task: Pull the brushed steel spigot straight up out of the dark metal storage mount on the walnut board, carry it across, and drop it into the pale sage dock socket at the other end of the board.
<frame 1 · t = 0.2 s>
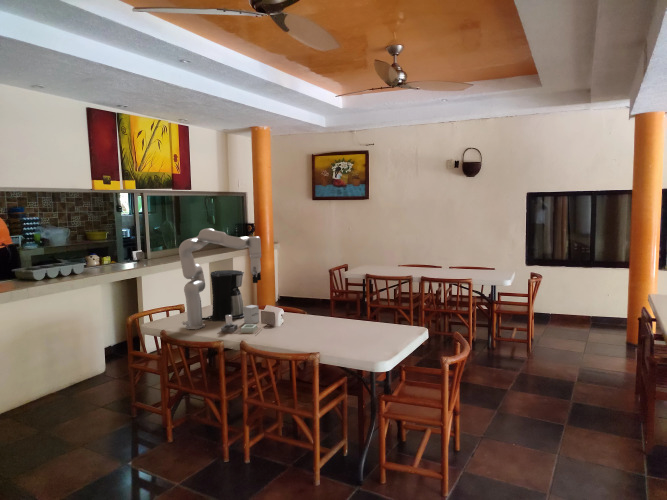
hand: (256, 281, 306), 31 cm above the table, tool pointing down, fingers open, 9 cm apart
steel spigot: (229, 330, 299), point 1 cm above the table, touching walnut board
coffee maker: (223, 317, 342), on the table
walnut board: (239, 333, 298), on the table
supplement box: (252, 324, 317), on the table
dock socket: (249, 330, 297), resting on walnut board
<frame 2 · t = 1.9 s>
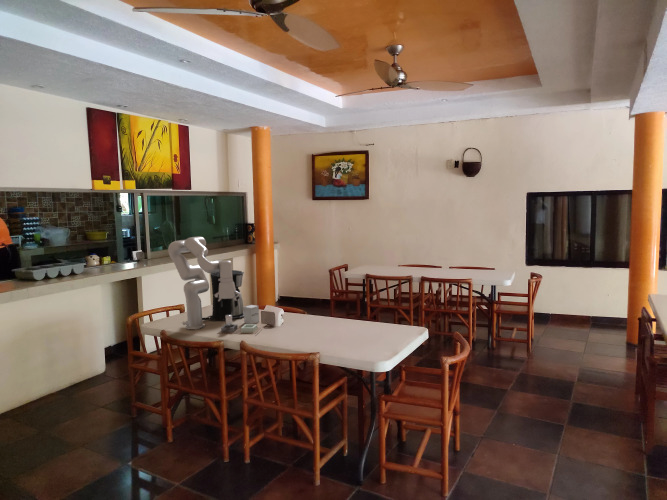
hand: (228, 306, 297), 17 cm above the table, tool pointing down, fingers open, 9 cm apart
nothing on the table moved.
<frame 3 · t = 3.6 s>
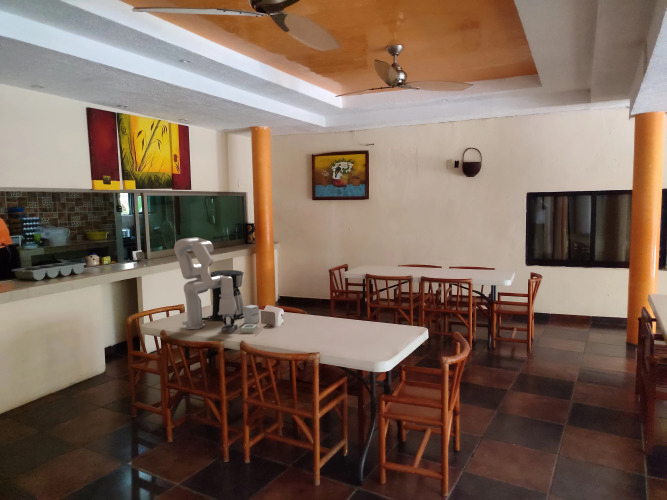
hand: (229, 324, 298), 6 cm above the table, tool pointing down, fingers closed on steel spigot, 4 cm apart
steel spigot: (229, 330, 299), point 2 cm above the table, touching gripper, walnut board
everything else where it was.
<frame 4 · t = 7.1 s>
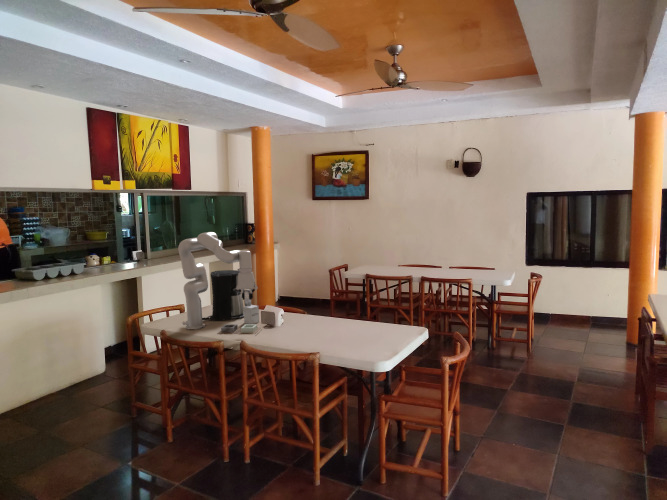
hand: (247, 299, 295), 22 cm above the table, tool pointing down, fingers closed on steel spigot, 4 cm apart
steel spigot: (247, 305, 295), point 18 cm above the table, touching gripper
everything else where it was.
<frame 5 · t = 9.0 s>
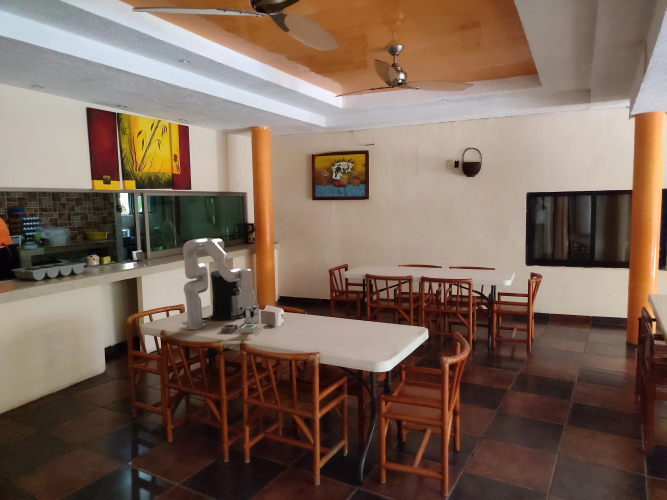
hand: (248, 317, 296), 10 cm above the table, tool pointing down, fingers closed on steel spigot, 4 cm apart
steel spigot: (249, 323, 296), point 6 cm above the table, touching gripper
everything else where it was.
when the fingers open (7 cm above the table, at t = 10.5 s): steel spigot stays where it is, resting on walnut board.
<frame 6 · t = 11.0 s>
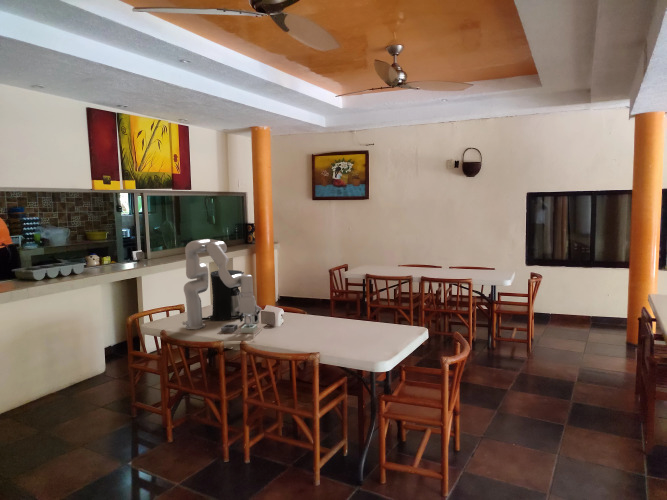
hand: (248, 321, 296), 8 cm above the table, tool pointing down, fingers open, 9 cm apart
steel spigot: (249, 330, 297), point 2 cm above the table, touching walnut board
everything else where it was.
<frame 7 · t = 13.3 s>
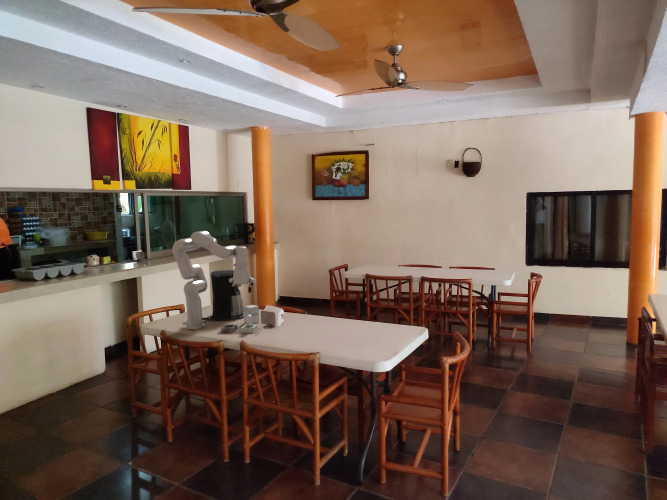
hand: (242, 292, 299), 25 cm above the table, tool pointing down, fingers open, 9 cm apart
nothing on the table moved.
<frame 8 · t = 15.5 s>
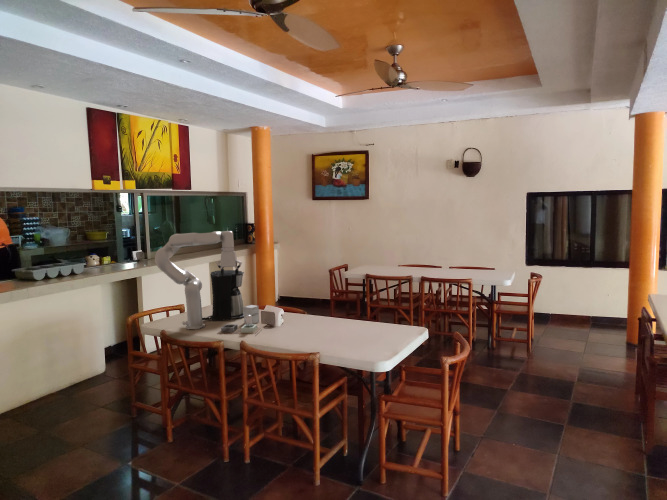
hand: (229, 274, 314), 34 cm above the table, tool pointing down, fingers open, 9 cm apart
nothing on the table moved.
at the end: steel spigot 0.1 cm off-centre on the dock socket, point 0.0 cm above the dock socket's base; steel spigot tilted 0°; the gripper is holding nothing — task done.
